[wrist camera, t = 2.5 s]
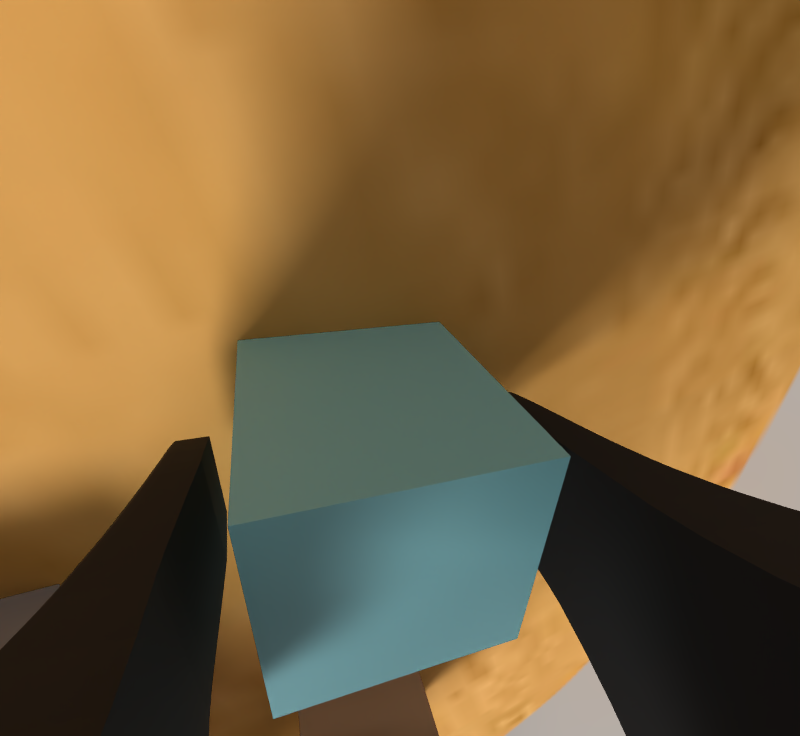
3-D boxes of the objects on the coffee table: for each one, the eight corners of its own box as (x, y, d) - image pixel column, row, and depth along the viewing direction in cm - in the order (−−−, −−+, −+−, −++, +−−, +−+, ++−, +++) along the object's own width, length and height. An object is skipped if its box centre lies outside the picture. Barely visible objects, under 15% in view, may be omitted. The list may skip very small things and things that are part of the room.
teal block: (426, 465, 12) (517, 638, 8) (264, 496, 11) (273, 719, 7) (438, 320, 10) (571, 456, 6) (237, 339, 9) (227, 526, 5)
